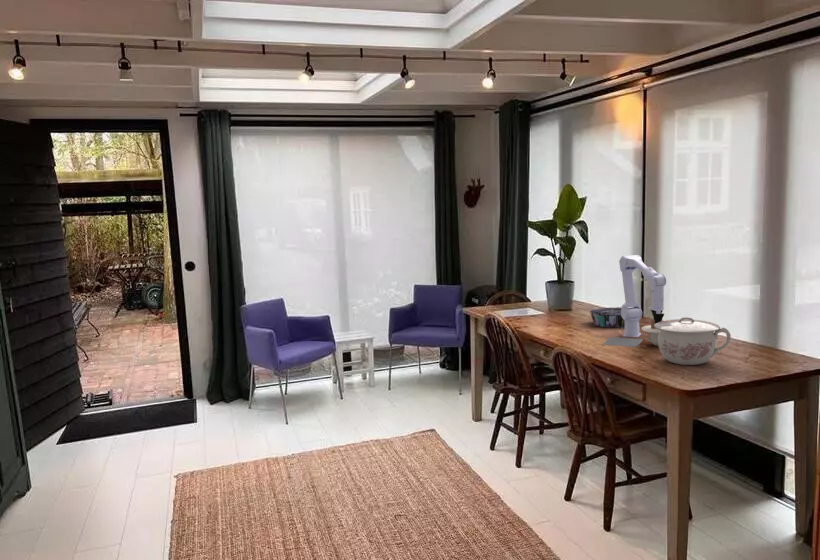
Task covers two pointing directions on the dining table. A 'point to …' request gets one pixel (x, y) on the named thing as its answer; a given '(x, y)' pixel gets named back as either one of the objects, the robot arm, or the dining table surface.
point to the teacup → (652, 338)
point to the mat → (623, 342)
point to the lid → (651, 328)
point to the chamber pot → (689, 340)
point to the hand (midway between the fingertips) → (657, 325)
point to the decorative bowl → (607, 317)
